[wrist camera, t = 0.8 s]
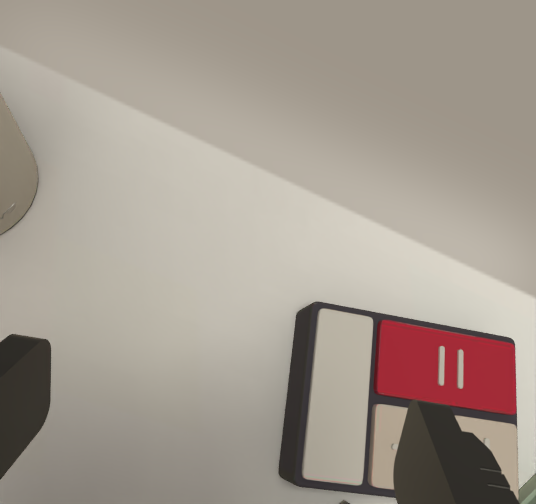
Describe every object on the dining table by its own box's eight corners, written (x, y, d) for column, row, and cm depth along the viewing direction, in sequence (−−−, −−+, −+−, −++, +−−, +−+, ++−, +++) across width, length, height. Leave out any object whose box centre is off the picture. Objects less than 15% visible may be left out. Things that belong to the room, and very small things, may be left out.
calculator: (529, 515, 31) (295, 488, 28) (484, 501, 35) (276, 477, 32) (524, 336, 34) (315, 297, 31) (483, 343, 38) (296, 309, 35)
